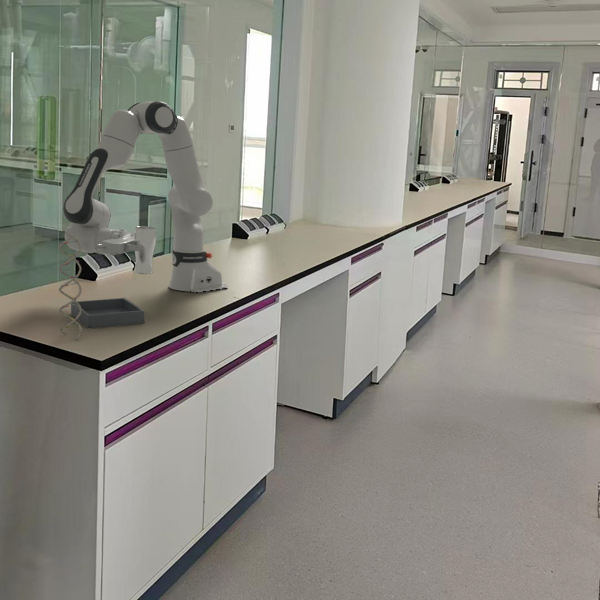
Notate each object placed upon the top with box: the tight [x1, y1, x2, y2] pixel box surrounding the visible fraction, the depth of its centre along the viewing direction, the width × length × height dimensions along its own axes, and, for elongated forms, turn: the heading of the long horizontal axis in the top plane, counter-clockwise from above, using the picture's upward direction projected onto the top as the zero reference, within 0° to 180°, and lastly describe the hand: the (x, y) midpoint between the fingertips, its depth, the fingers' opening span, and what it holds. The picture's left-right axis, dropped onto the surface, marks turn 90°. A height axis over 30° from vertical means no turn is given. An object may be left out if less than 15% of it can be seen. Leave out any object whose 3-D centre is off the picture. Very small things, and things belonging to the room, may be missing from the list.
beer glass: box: [134, 225, 157, 275], centre depth 241 cm, size 7×7×15 cm
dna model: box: [58, 231, 83, 341], centre depth 204 cm, size 7×6×30 cm
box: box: [70, 297, 145, 329], centre depth 228 cm, size 18×18×4 cm
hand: (147, 246), depth 241 cm, fingers closed on beer glass, 6 cm apart
